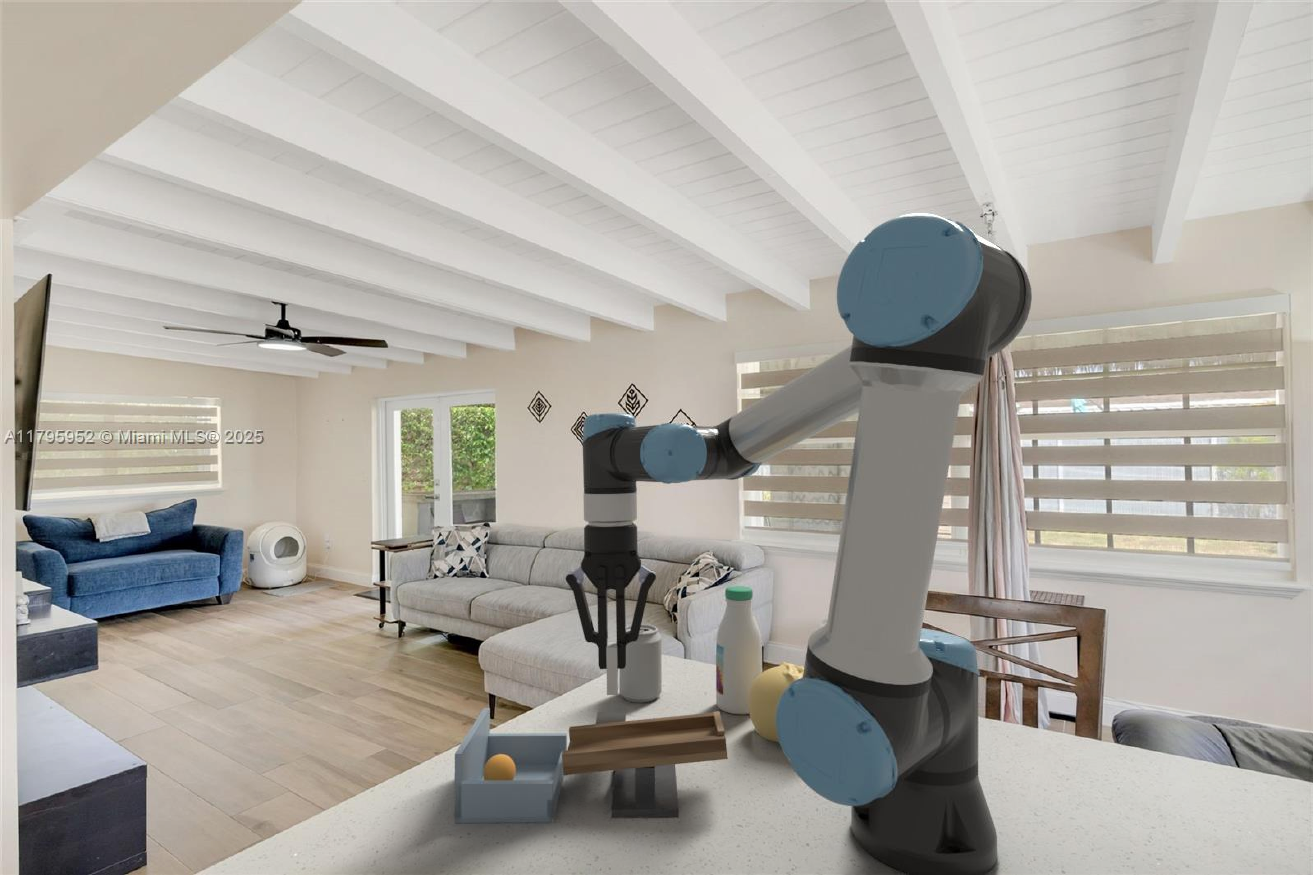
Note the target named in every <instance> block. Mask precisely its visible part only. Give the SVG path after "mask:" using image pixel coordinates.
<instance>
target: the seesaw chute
mask: <svg viewBox="0 0 1313 875" xmlns="http://www.w3.org/2000/svg"><path fill="white" fill-rule="evenodd" d="M626 713H627V712H626V708H622V709H621V708H620V709H614V710H613V709H612V710H602V711H597V716H596V718H595V723H593V724H585V725H574V726H573V725H572V726H569V728H568V735H569V743H568V745H567V750H566V751H563V752H562V763H563V774H564V775H565V776H571V775H580V774H591V773H599V772H601V773H602V772H612V771H615V770H622V769H632V768H642V767H652V766H662V765H672V764H675V765H680V764H681V765H682V764H690V763H692V764H693V763H702V762H712V761H721V760H722V761H723V760H728V748H727V737H726V733H725V727H724V724H723V720H722V717H721V713H720V711H713V712H706V713H695V714H685V715H683V714H682V715H675V716H666V717H656V718H655V717H654V718H644V719H643V718H642V719H633V720H626V718H627V714H626Z"/></svg>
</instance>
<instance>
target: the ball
mask: <svg viewBox="0 0 1313 875" xmlns="http://www.w3.org/2000/svg"><path fill="white" fill-rule="evenodd" d="M515 772H516V768H515V764H514V762H513V760H512V759H511V758H510V757H509V756H507V755H504V754H498V755H495V756H493V757H491V758H490V759H489V760H488V761H487V763H486V765H485V767H484V771H483V777H484V780H513V779H514V776H515Z"/></svg>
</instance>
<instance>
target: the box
mask: <svg viewBox="0 0 1313 875" xmlns="http://www.w3.org/2000/svg"><path fill="white" fill-rule="evenodd" d="M490 713H491V708H490V707H484V708H482V710H481V712H479V715H478V717H477V718H476V720H475V721H474V722H473V725H472V726H471V728H470V729H469V731H468V733H467V734H466V736H465V737H464V738H463V740H462V741H461V743H460V745H459V746H458V748H457V750H455V753H454V818H453V819H454V820H453V821H454V824H479V823H480V824H489V823H490V824H491V823H492V824H494V823H495V824H498V823H502V824H504V823H510V824H511V823H517V824H518V823H519V824H520V823H522V824H523V823H530V824H531V823H535V824H536V823H553V821H554V818H555V813H556V810H557V806H558V802H559V798H560V795H561V790H562V787H563V783H564V779H565V776H566V775H564V774H563V763H562V752H563V751H566V750H568V732H567V733H566V732H562V733H561V732H560V733H559V732H551V733H550V732H548V733H546V732H545V733H543V732H542V733H540V732H537V733H533V732H532V733H530V732H529V733H528V732H527V733H526V732H525V733H521V732H520V733H518V732H517V733H514V732H513V733H507V732H505V733H502V732H501V733H491V732H490V731H491V730H490V728H491V727H490V726H491V724H490V723H491V717H490V716H491V714H490ZM498 754H504V755H507V756H509V757H510V758H511V759H512V760H513V762H514V764H515V768H516V772H515V776H514V779H513V780H484V777H483V771H484V767H485V765H486V763H487V761H488V760H489V759H490V758H491V757H493V756H495V755H498Z"/></svg>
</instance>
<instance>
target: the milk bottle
mask: <svg viewBox="0 0 1313 875" xmlns="http://www.w3.org/2000/svg"><path fill="white" fill-rule="evenodd" d="M753 592H754V591H753V589H752V588H751V587H749V586H744V585H732V586H727V587H726V588H725V592H724V593H725V594H724V596H725V602H726V606H725V607H726V608H725V611H724V614H723V616H722V619H721V622H720V623H719V627H718V629H717V633H716V654H715V656H716V657H715V659H716V660H715V668H716V669H715V670H716V671H715V676H716V678H715V690H716V691H715V694H716V695H715V697H716V698H715V702H716V706H717V707H718V709H720V710H721V711H723V712H726V713H728V714H734V715H750V712H749V695H750V691H751V688H752V685H753V683H754V682H755V680H756V679H757V677H758V676H759V675H760V674H761V673H763V647H762V646H763V645H762V644H763V642H762V635H761V631H760V628H759V625H758V622H757V619H756V618H755V616H754V613H753V609H752V602H753V596H754V595H753V594H754V593H753Z"/></svg>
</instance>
